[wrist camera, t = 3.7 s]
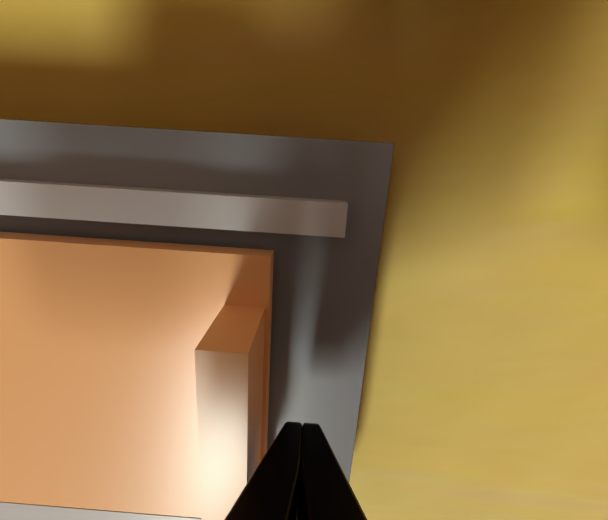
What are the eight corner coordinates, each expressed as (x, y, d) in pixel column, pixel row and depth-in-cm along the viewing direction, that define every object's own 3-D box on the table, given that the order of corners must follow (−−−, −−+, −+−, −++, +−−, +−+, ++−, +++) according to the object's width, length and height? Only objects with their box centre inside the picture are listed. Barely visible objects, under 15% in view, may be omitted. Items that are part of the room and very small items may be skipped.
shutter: (274, 250, 8) (254, 288, 6) (265, 503, 10) (249, 608, 8) (-62, 227, 8) (-229, 254, 6) (7, 482, 11) (-87, 579, 8)
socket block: (372, 149, 10) (400, 141, 7) (334, 477, 14) (340, 577, 11) (-284, 109, 11) (-567, 82, 7) (-142, 440, 15) (-283, 524, 11)
